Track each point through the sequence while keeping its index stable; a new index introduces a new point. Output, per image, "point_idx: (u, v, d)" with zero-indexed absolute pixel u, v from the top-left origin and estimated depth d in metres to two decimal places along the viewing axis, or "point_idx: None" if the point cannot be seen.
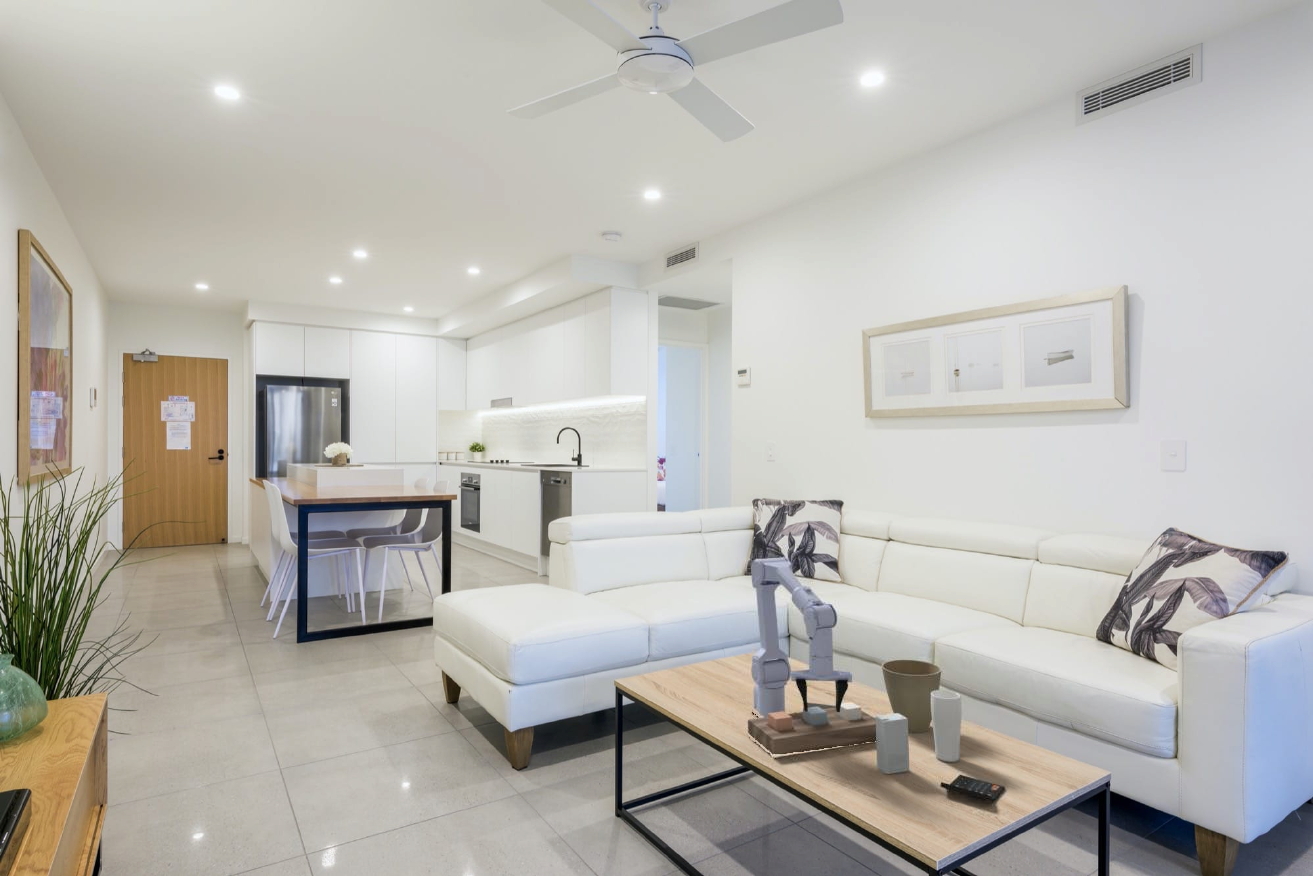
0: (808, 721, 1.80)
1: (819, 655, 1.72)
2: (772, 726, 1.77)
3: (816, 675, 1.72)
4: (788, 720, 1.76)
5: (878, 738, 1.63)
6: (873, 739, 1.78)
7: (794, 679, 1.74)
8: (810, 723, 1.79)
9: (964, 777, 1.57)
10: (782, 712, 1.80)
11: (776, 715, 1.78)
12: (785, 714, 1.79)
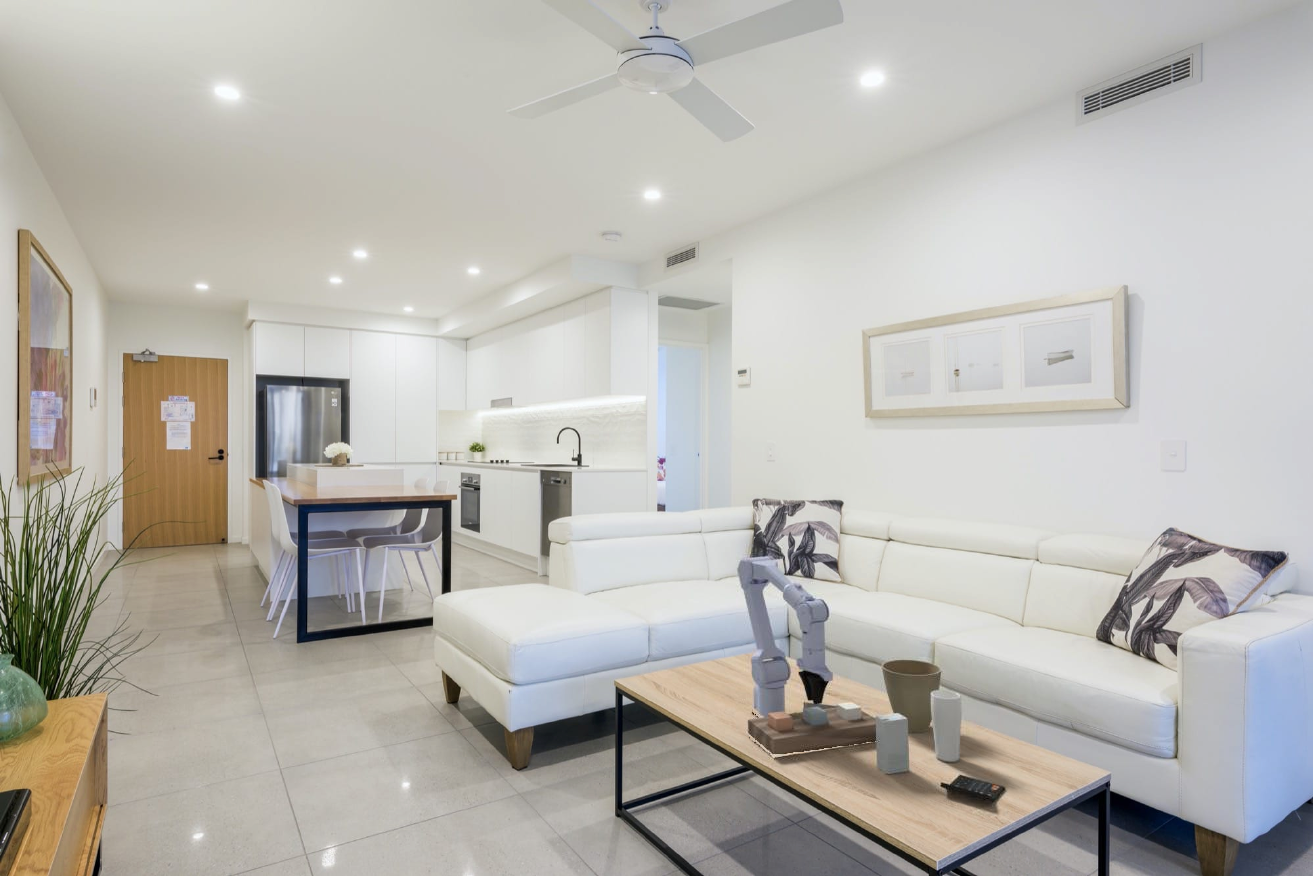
0: (808, 721, 1.80)
1: (813, 648, 1.79)
2: (772, 726, 1.77)
3: (802, 664, 1.82)
4: (788, 720, 1.76)
5: (878, 738, 1.63)
6: (873, 739, 1.78)
7: (797, 664, 1.88)
8: (810, 723, 1.79)
9: (964, 777, 1.57)
10: (782, 712, 1.80)
11: (776, 715, 1.78)
12: (785, 714, 1.79)
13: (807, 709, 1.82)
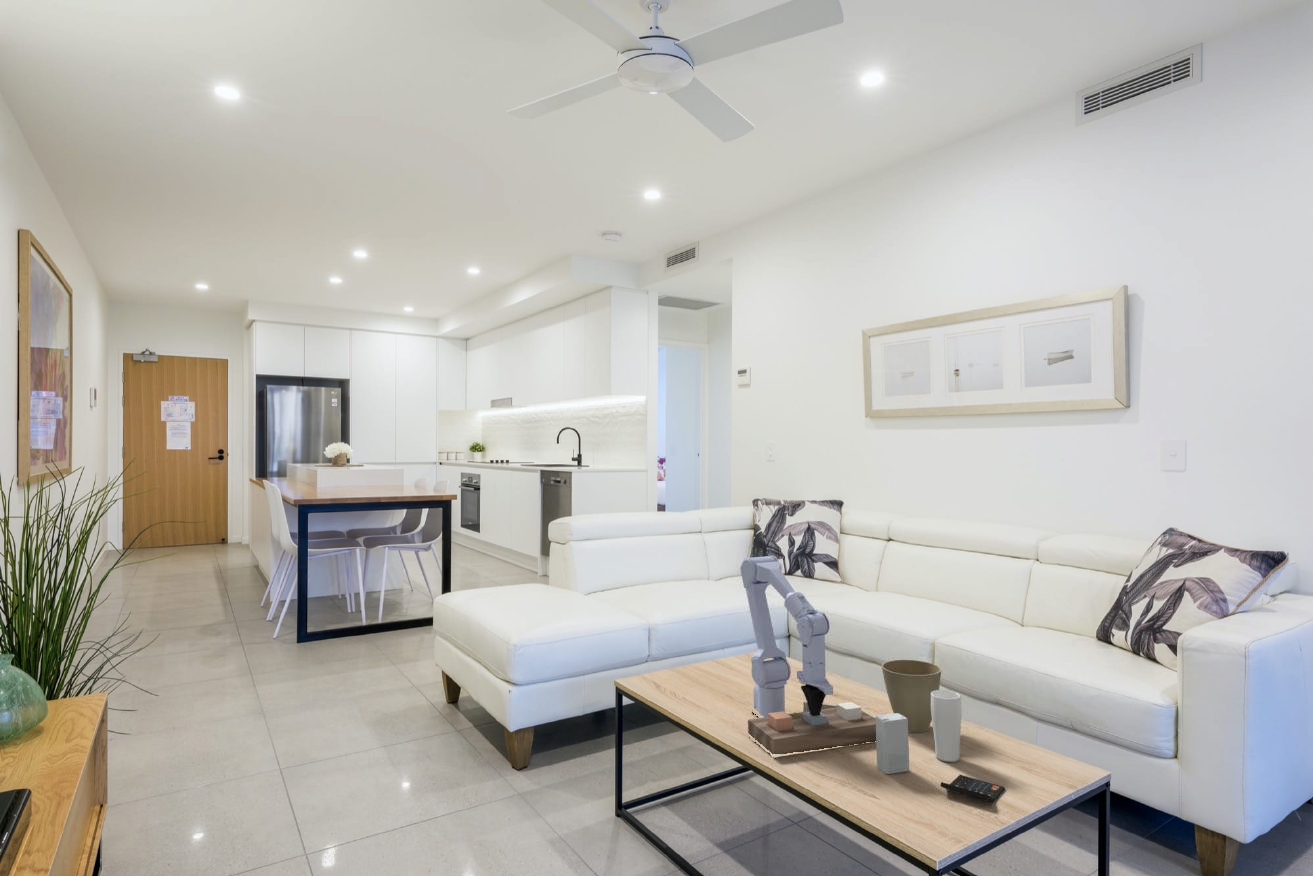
0: None
1: (814, 662, 1.79)
2: (772, 726, 1.77)
3: (802, 677, 1.82)
4: (788, 720, 1.76)
5: (878, 738, 1.63)
6: (873, 739, 1.78)
7: (797, 677, 1.87)
8: None
9: (964, 777, 1.57)
10: (782, 712, 1.80)
11: (776, 715, 1.78)
12: (785, 714, 1.79)
13: (807, 713, 1.82)
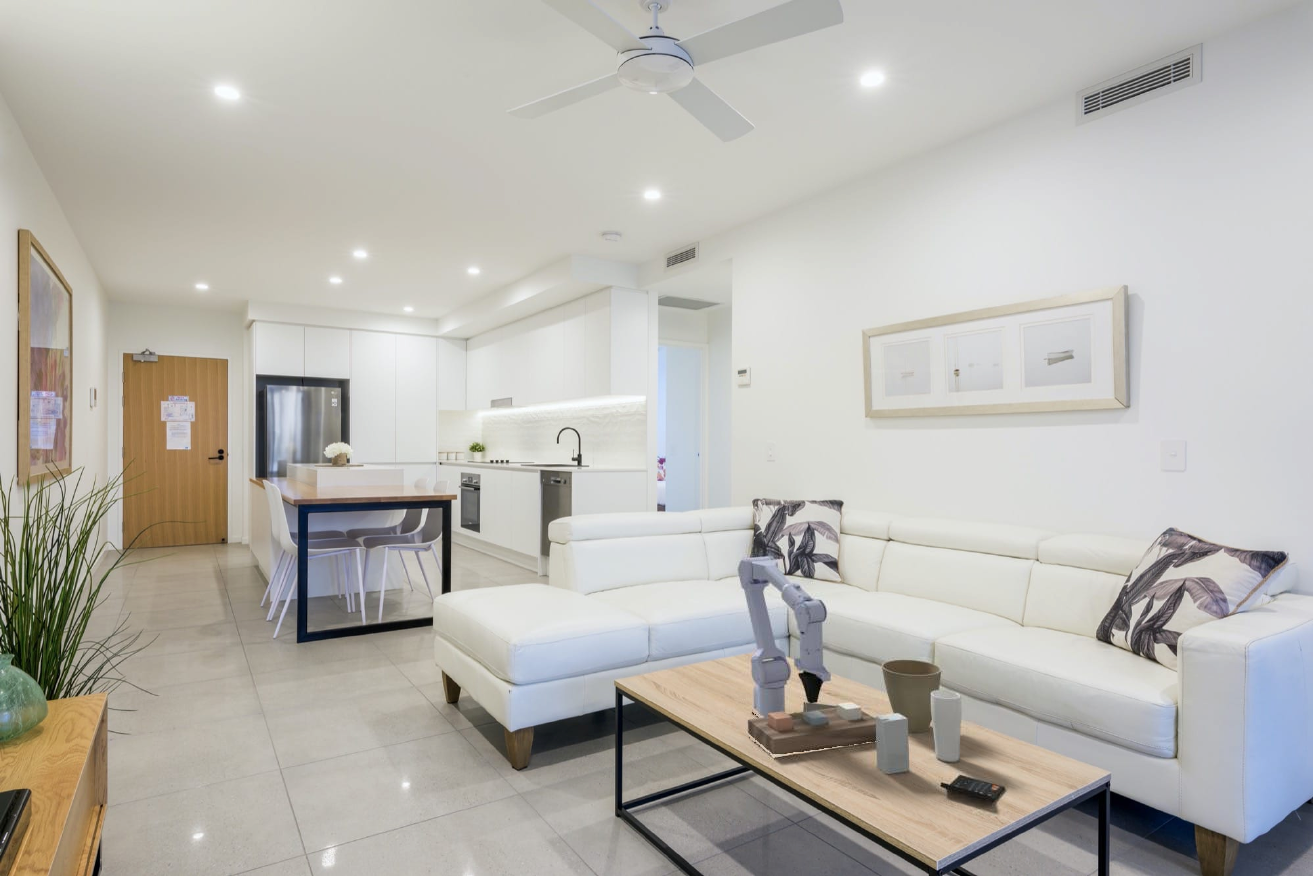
0: None
1: (811, 649, 1.79)
2: (772, 726, 1.77)
3: (800, 665, 1.82)
4: (788, 720, 1.76)
5: (878, 738, 1.63)
6: (873, 739, 1.78)
7: (795, 664, 1.87)
8: None
9: (964, 777, 1.57)
10: (782, 712, 1.80)
11: (776, 715, 1.78)
12: (785, 714, 1.79)
13: (807, 713, 1.82)
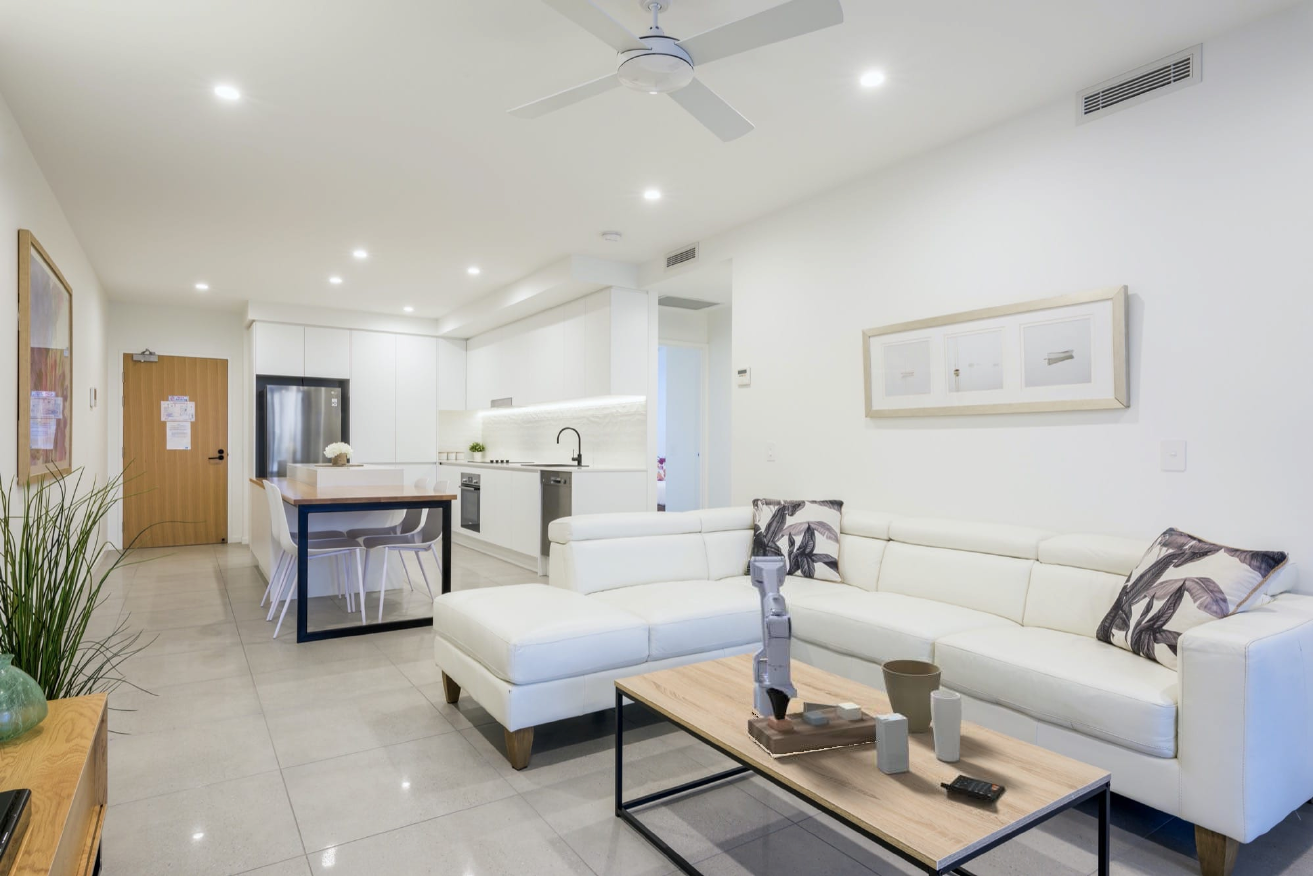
0: None
1: (772, 664, 1.77)
2: None
3: (767, 680, 1.79)
4: (788, 724, 1.76)
5: (878, 738, 1.63)
6: (873, 739, 1.78)
7: (763, 680, 1.84)
8: None
9: (964, 777, 1.57)
10: None
11: (776, 719, 1.78)
12: (785, 717, 1.78)
13: (807, 713, 1.82)
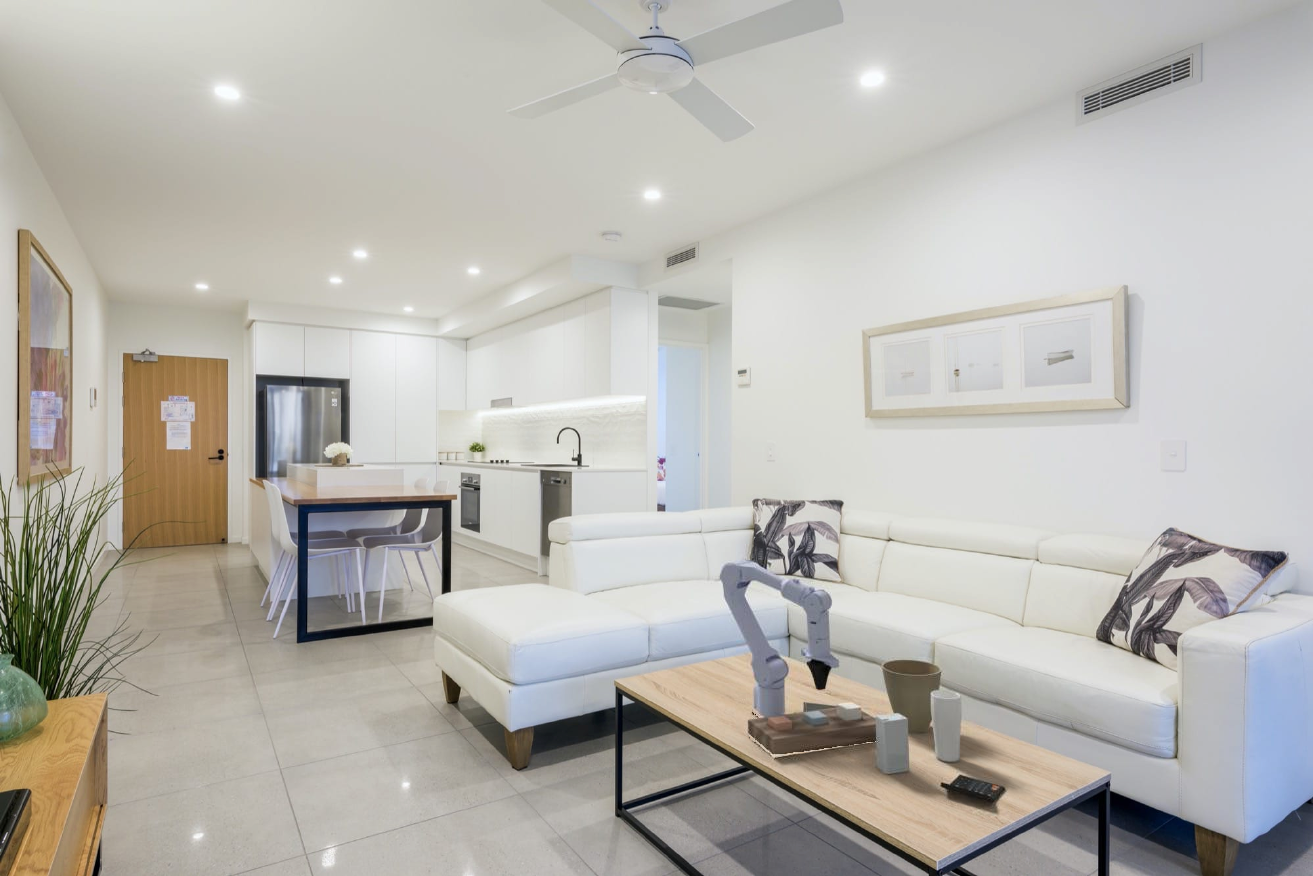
0: None
1: (823, 637, 1.86)
2: None
3: (808, 653, 1.89)
4: (788, 725, 1.76)
5: (878, 738, 1.63)
6: (873, 739, 1.78)
7: (802, 654, 1.94)
8: None
9: (964, 777, 1.57)
10: (782, 716, 1.80)
11: (776, 720, 1.78)
12: (785, 718, 1.78)
13: (807, 713, 1.82)
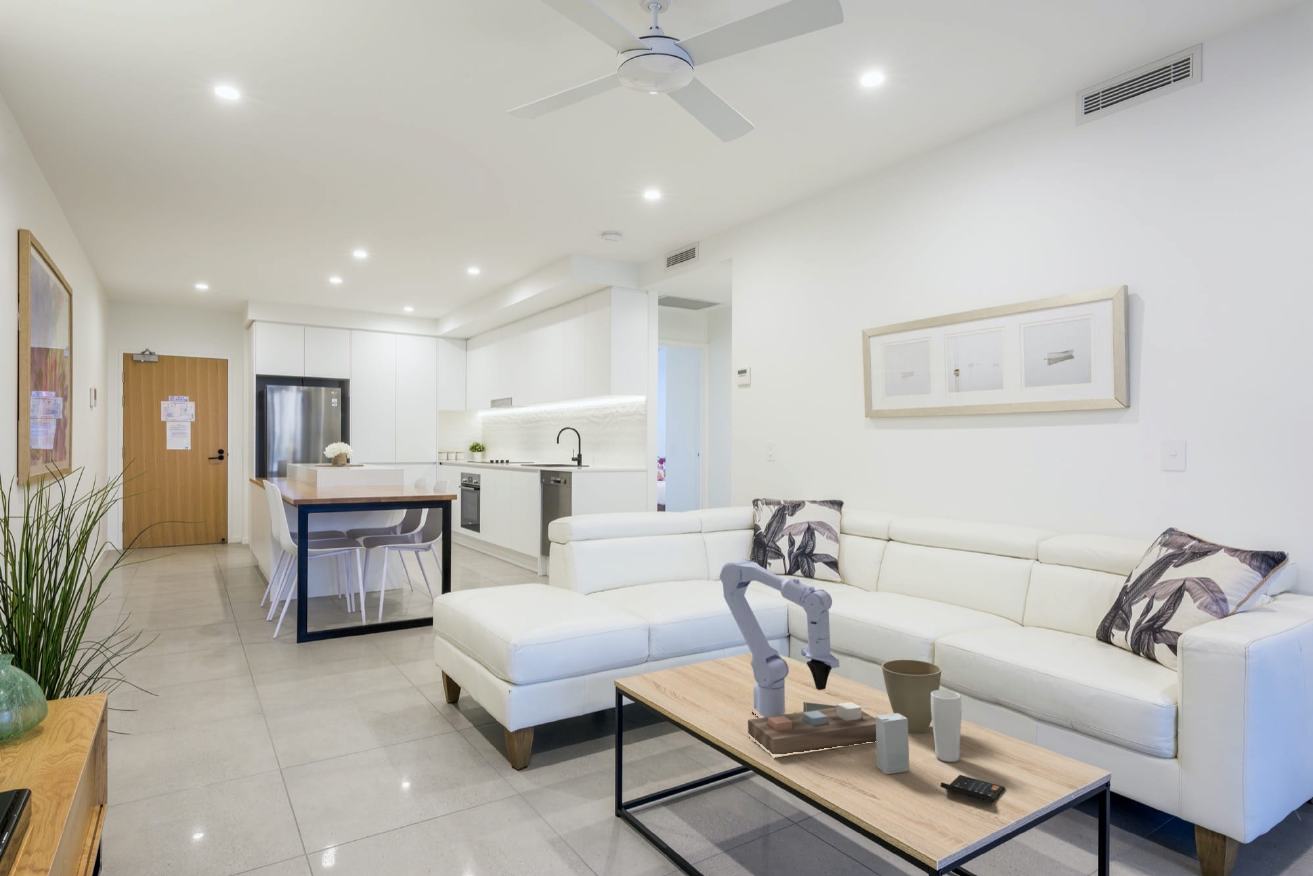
0: None
1: (823, 637, 1.86)
2: None
3: (808, 653, 1.89)
4: (788, 725, 1.76)
5: (878, 738, 1.63)
6: (873, 739, 1.78)
7: (802, 654, 1.94)
8: None
9: (964, 777, 1.57)
10: (782, 716, 1.80)
11: (776, 720, 1.78)
12: (785, 718, 1.78)
13: (807, 713, 1.82)
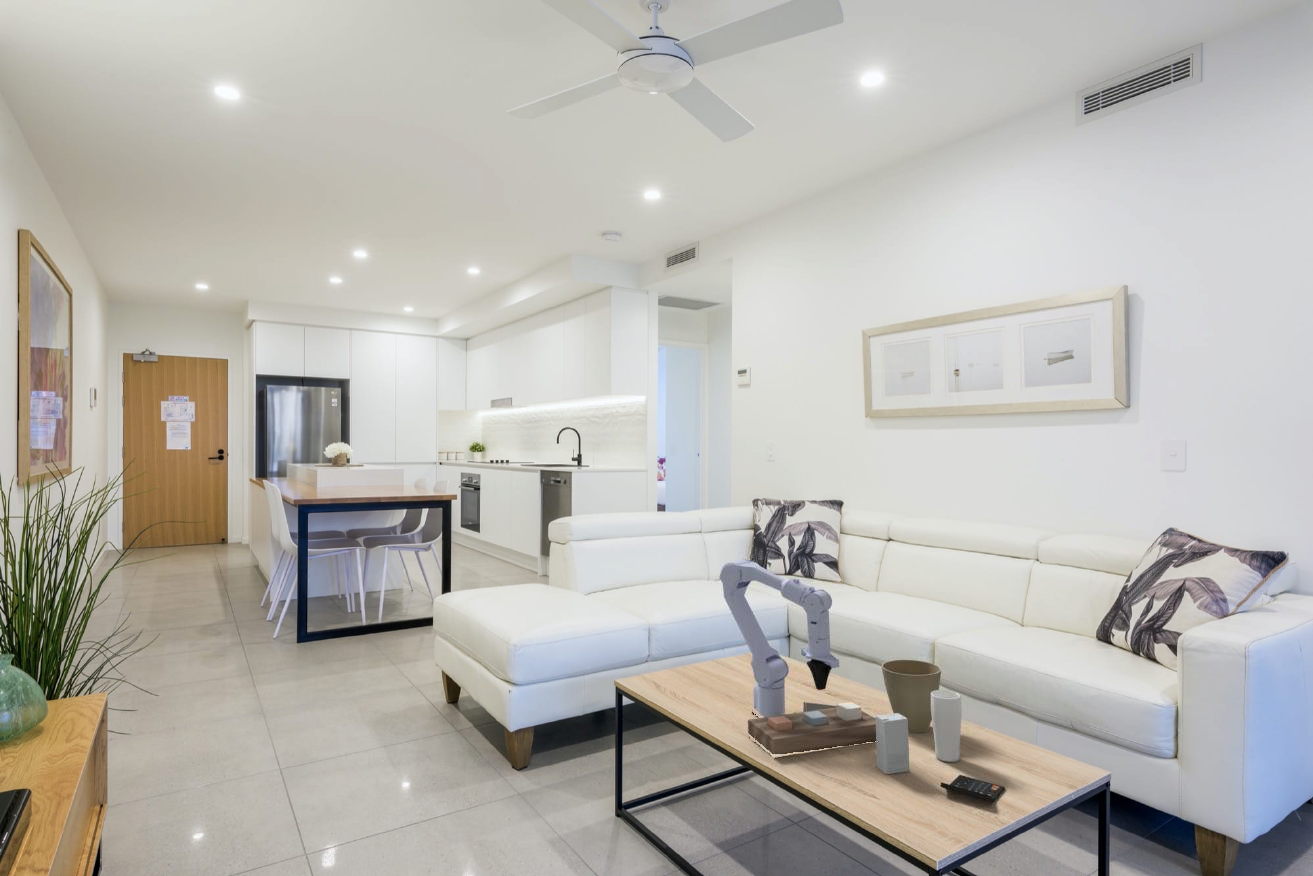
0: None
1: (823, 637, 1.86)
2: None
3: (808, 653, 1.89)
4: (788, 725, 1.76)
5: (878, 738, 1.63)
6: (873, 739, 1.78)
7: (802, 654, 1.94)
8: None
9: (964, 777, 1.57)
10: (782, 716, 1.80)
11: (776, 720, 1.78)
12: (785, 718, 1.78)
13: (807, 713, 1.82)
